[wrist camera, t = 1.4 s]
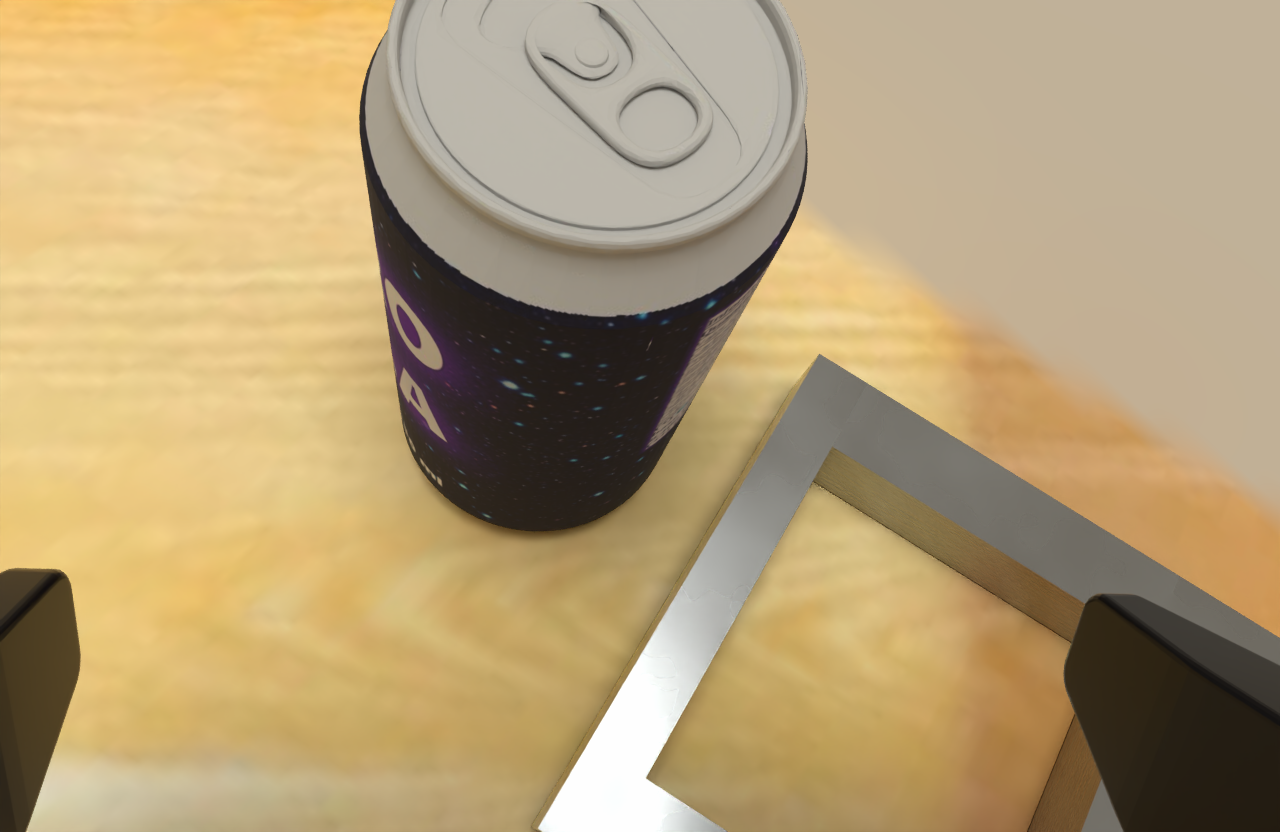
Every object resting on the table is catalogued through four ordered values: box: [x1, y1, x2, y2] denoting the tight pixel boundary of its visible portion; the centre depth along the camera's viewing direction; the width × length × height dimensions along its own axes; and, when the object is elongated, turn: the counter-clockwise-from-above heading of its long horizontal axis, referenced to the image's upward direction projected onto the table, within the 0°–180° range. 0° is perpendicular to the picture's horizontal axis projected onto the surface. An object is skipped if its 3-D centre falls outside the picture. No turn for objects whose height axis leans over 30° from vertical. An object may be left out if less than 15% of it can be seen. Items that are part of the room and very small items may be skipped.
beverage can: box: [359, 0, 808, 531], centre depth 18 cm, size 6×6×12 cm
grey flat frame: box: [531, 354, 1280, 832], centre depth 21 cm, size 14×11×2 cm
